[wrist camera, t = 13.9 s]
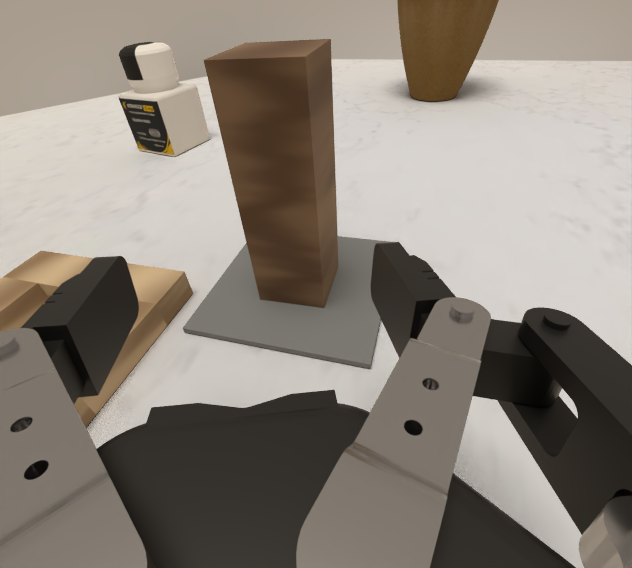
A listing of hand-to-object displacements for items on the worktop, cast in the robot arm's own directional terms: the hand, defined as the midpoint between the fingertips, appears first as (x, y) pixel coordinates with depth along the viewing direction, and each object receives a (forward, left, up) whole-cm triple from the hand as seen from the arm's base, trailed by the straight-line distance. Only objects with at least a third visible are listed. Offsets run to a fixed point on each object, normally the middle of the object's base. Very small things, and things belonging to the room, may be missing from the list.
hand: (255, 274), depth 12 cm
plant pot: (+4, +61, -10) cm, 62 cm away
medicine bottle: (-30, +35, -10) cm, 47 cm away
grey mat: (-3, +10, -9) cm, 14 cm away
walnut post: (-3, +10, -9) cm, 14 cm away
